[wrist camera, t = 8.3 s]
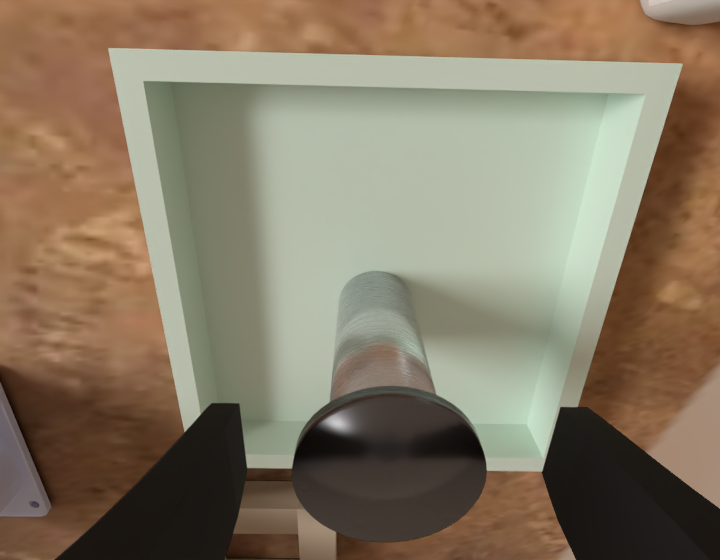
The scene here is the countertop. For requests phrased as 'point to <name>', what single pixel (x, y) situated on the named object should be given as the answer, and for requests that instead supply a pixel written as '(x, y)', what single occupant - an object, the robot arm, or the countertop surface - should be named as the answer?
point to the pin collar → (283, 519)
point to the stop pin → (385, 428)
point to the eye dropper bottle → (683, 11)
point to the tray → (387, 222)
